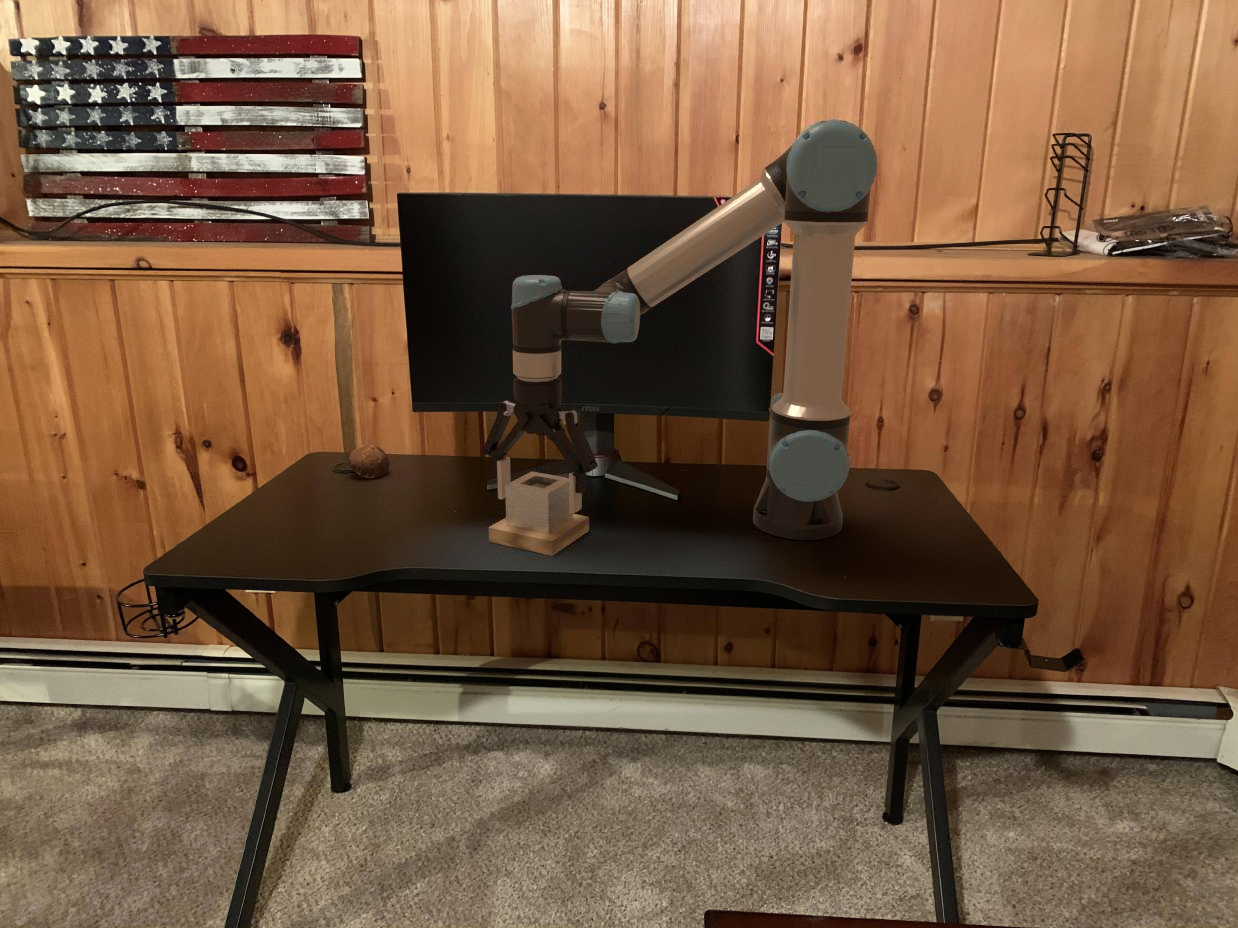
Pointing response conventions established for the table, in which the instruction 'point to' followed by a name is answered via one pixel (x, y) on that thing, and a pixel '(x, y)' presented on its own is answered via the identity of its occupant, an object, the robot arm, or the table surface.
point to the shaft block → (539, 535)
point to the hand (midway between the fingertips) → (539, 503)
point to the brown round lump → (369, 461)
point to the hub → (538, 503)
